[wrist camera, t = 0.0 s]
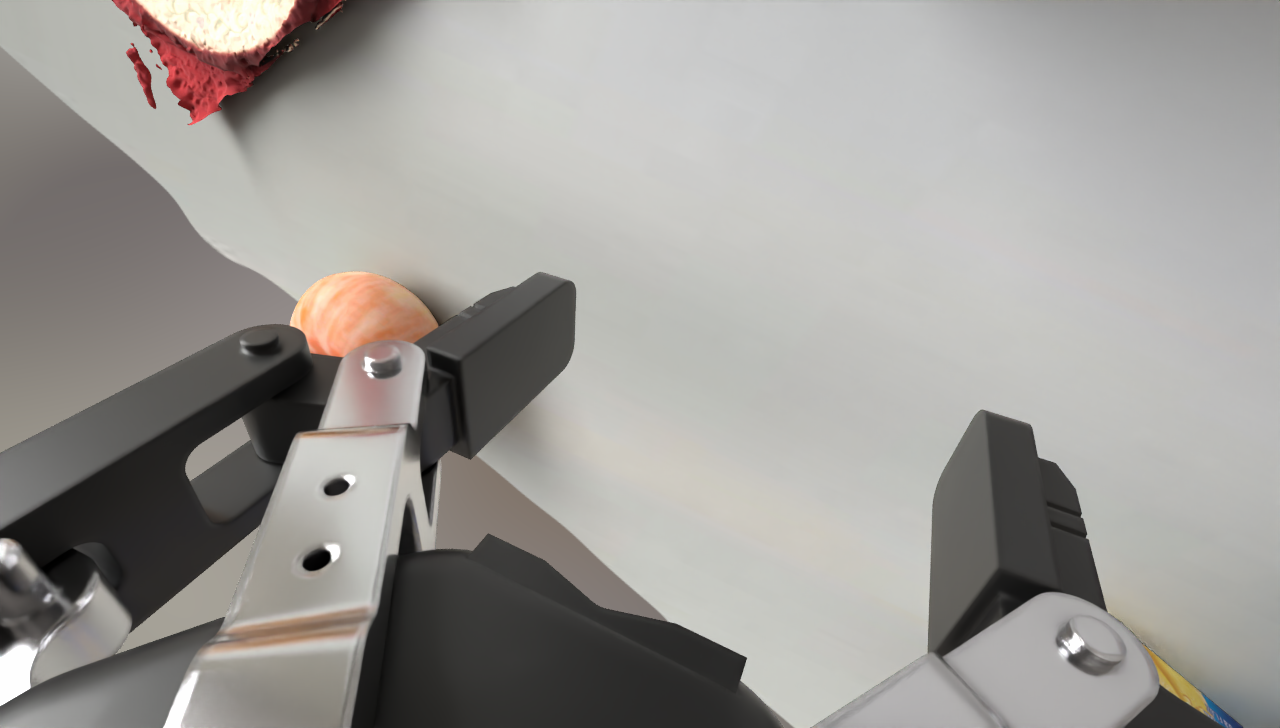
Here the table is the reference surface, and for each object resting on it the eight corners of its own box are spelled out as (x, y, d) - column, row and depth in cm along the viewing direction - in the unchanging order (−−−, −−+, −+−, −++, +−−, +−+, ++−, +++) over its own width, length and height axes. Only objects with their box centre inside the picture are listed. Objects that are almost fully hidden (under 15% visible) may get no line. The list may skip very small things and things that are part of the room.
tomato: (408, 229, 37) (302, 275, 31) (498, 367, 40) (417, 433, 34) (332, 284, 44) (231, 331, 38) (414, 399, 47) (334, 460, 41)
